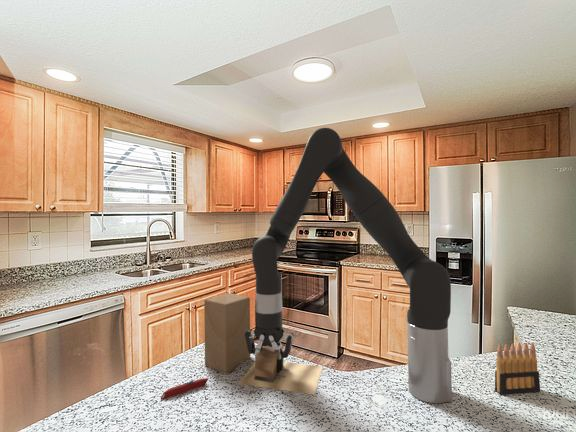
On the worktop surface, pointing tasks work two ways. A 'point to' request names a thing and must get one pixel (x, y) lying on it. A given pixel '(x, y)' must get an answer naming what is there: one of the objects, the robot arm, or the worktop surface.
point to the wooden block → (226, 331)
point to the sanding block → (266, 364)
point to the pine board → (289, 378)
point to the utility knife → (184, 388)
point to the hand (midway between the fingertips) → (269, 369)
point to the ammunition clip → (516, 370)
